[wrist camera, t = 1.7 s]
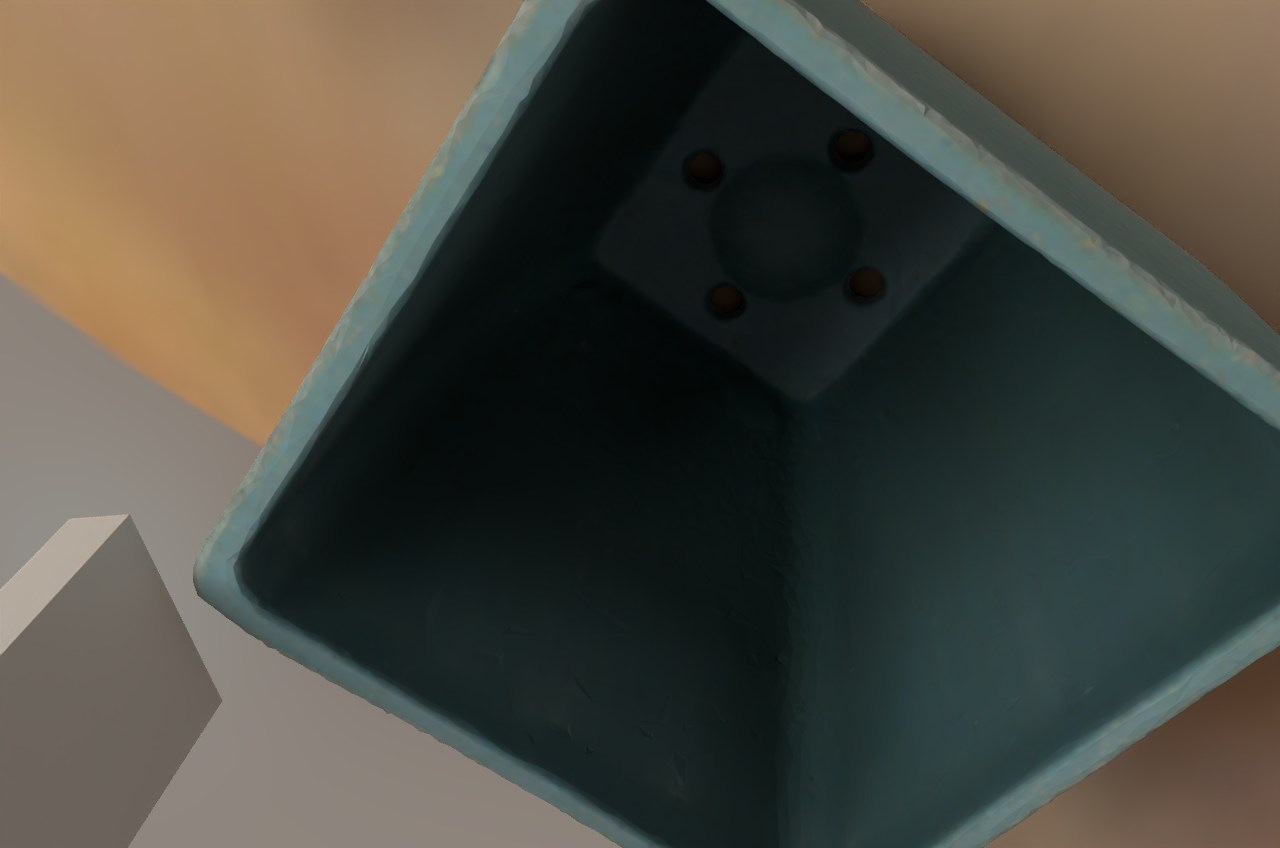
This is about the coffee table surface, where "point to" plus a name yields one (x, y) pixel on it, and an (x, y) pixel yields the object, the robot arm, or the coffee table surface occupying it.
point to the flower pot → (767, 446)
